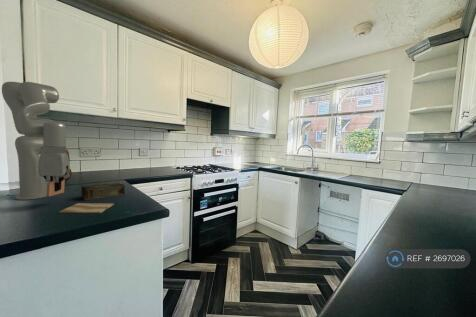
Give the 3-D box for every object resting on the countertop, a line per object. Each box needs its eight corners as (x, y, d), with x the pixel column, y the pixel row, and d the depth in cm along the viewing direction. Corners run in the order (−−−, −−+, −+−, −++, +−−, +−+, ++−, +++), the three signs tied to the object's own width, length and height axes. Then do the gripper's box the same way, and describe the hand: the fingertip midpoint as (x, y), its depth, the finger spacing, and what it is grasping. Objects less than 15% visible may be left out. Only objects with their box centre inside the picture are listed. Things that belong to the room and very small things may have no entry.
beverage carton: (125, 195, 115) (125, 183, 115) (84, 201, 101) (84, 188, 100) (120, 192, 121) (120, 181, 120) (80, 198, 106) (80, 186, 106)
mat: (77, 204, 95) (77, 203, 95) (114, 204, 97) (114, 203, 97) (58, 213, 83) (58, 211, 83) (100, 213, 85) (100, 211, 85)
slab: (59, 192, 96) (60, 179, 96) (64, 192, 96) (64, 179, 96) (43, 196, 87) (44, 182, 87) (48, 196, 87) (49, 182, 87)
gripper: (27, 149, 85) (27, 191, 87) (68, 152, 87) (67, 193, 89) (42, 148, 92) (42, 187, 94) (79, 151, 94) (79, 189, 96)
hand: (54, 190), depth 92 cm, fingers closed on slab, 1 cm apart
